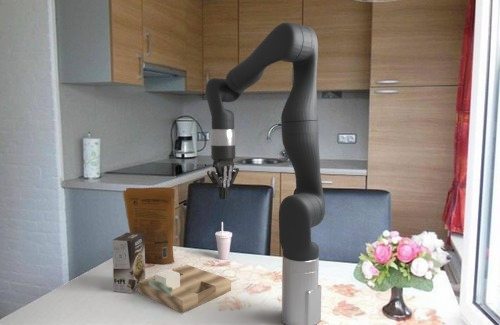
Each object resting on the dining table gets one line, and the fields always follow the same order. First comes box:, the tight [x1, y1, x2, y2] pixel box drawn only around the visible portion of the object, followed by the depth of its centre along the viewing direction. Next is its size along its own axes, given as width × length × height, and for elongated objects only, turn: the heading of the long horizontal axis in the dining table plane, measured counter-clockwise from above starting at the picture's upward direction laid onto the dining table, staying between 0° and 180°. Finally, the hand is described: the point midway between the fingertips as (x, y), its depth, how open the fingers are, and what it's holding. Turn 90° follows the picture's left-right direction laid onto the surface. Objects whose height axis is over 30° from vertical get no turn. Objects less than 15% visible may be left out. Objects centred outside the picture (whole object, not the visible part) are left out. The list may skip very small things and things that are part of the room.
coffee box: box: [112, 232, 146, 294], centre depth 125 cm, size 9×6×16 cm
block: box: [154, 268, 180, 290], centre depth 117 cm, size 5×5×4 cm
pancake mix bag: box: [122, 187, 177, 265], centre depth 146 cm, size 7×19×28 cm, turn 79°
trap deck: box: [138, 264, 232, 314], centre depth 122 cm, size 20×19×6 cm
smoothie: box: [214, 221, 233, 261], centre depth 152 cm, size 6×6×14 cm
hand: (223, 198), depth 127 cm, fingers closed
